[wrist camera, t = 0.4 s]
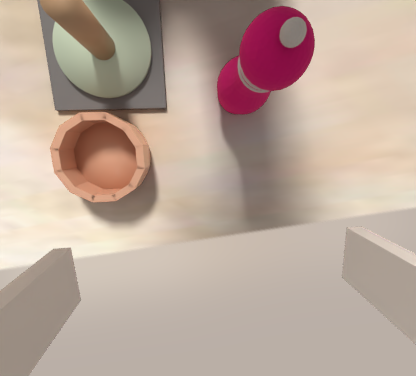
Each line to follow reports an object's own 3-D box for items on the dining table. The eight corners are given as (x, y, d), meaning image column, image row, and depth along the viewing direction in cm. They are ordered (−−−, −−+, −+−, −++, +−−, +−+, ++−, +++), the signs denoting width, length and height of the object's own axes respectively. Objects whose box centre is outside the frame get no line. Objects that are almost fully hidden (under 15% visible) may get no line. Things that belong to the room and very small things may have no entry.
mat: (37, -15, 29) (34, -19, 29) (158, -14, 30) (157, -17, 30) (57, 110, 33) (55, 110, 32) (166, 108, 34) (166, 107, 33)
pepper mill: (207, 107, 34) (228, 59, 15) (224, 59, 33) (271, -62, 13) (249, 124, 35) (322, 101, 16) (267, 79, 34) (370, -8, 14)
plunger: (48, -5, 29) (-35, -91, 19) (147, -4, 30) (123, -85, 19) (64, 99, 32) (-1, 76, 21) (155, 97, 33) (137, 75, 22)
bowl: (65, 117, 33) (43, 113, 28) (147, 115, 34) (139, 111, 29) (77, 195, 35) (59, 203, 31) (153, 192, 36) (147, 199, 31)
